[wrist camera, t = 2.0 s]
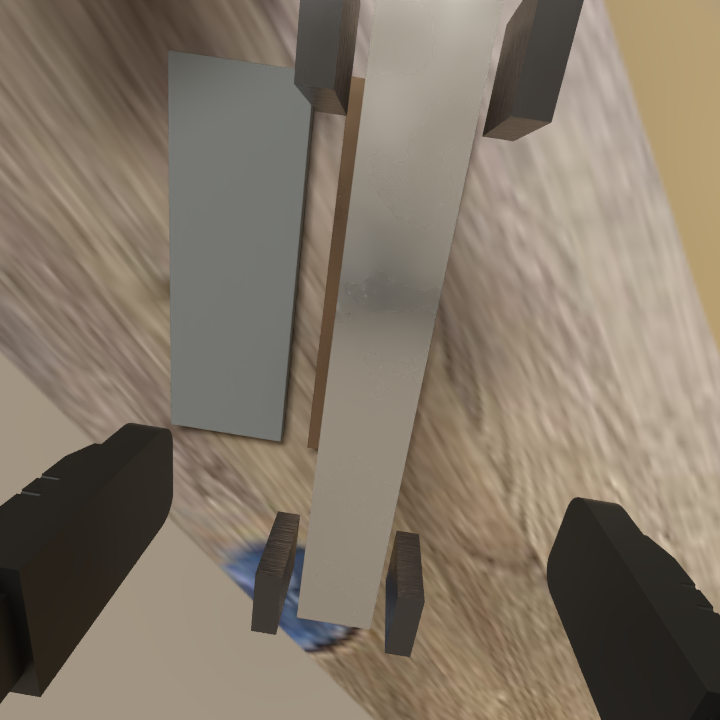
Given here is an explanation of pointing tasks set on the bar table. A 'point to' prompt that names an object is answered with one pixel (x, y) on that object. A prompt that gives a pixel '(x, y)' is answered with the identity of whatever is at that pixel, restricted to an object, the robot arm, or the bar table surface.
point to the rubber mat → (234, 239)
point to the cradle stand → (345, 97)
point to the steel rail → (391, 284)
